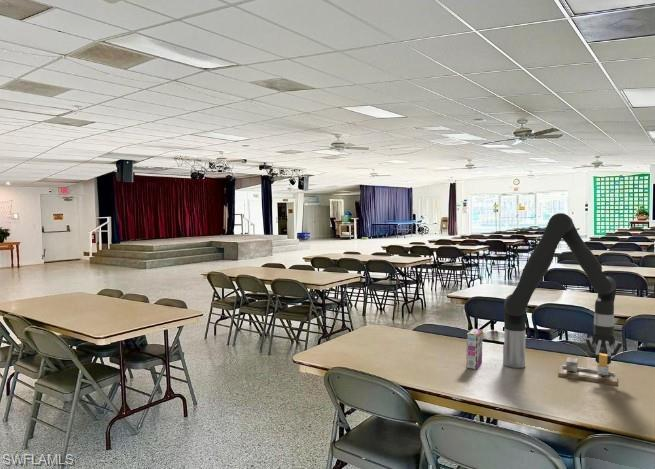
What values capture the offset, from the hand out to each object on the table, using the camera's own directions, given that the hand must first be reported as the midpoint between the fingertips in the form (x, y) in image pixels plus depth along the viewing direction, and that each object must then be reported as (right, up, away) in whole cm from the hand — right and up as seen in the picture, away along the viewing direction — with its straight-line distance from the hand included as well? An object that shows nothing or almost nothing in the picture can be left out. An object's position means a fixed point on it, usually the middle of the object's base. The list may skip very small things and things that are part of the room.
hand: (603, 363), depth 201 cm
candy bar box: (-49, -7, +19) cm, 53 cm away
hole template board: (-5, -7, +3) cm, 9 cm away
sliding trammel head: (0, -5, 0) cm, 5 cm away
